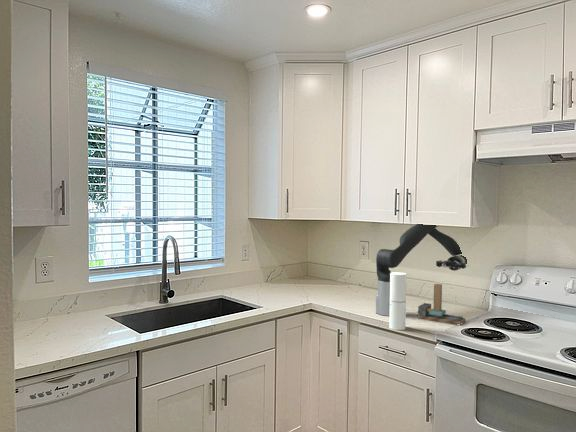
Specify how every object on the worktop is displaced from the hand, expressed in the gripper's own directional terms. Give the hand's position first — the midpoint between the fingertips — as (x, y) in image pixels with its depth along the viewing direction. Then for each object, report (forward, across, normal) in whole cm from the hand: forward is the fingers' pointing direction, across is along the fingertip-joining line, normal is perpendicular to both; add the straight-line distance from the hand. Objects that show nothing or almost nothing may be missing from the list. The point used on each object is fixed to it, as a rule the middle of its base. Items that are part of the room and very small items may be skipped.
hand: (446, 265), depth 220 cm
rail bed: (+13, +2, +25) cm, 28 cm away
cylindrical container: (+39, -10, +26) cm, 48 cm away
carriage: (+13, 0, +22) cm, 26 cm away
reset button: (+13, -5, +23) cm, 27 cm away
